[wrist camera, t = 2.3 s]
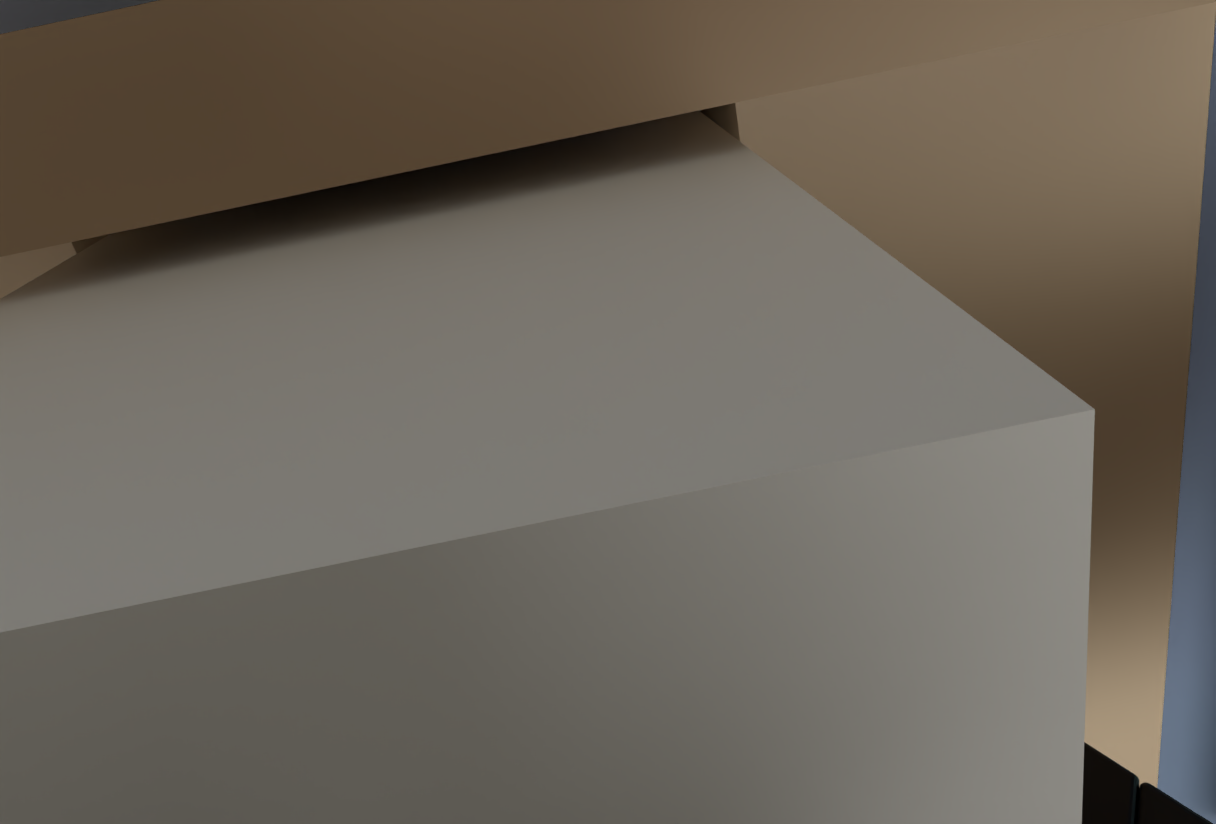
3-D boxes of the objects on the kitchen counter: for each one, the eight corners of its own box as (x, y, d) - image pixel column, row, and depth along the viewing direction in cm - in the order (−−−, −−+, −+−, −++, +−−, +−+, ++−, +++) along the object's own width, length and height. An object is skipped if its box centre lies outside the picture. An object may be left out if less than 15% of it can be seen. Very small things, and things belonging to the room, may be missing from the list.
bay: (1070, 695, 13) (1272, 961, 10) (134, 883, 14) (-11, 1213, 10) (1088, -172, 9) (1474, -281, 5) (-309, 125, 9) (-873, 218, 5)
